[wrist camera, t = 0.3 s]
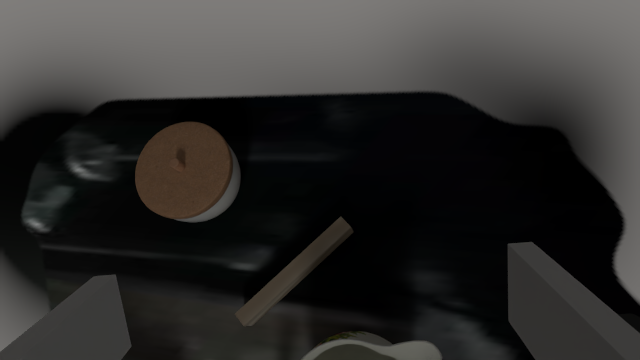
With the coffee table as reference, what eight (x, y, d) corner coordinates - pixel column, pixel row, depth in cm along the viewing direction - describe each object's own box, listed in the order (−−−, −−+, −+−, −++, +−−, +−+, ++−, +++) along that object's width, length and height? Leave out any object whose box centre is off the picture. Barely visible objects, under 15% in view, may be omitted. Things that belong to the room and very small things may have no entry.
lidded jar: (185, 139, 56) (146, 107, 48) (263, 154, 54) (237, 123, 45) (157, 220, 54) (110, 202, 45) (238, 239, 51) (205, 224, 42)
